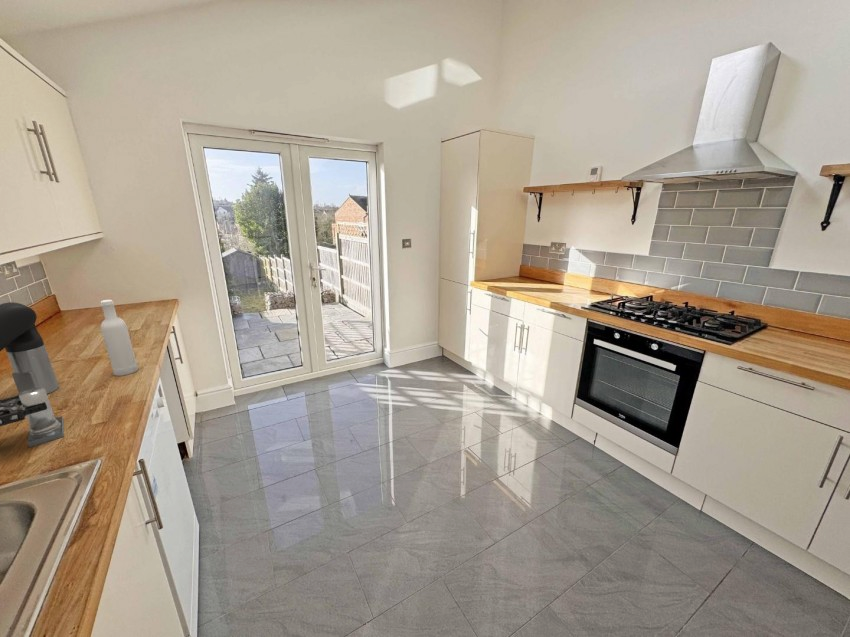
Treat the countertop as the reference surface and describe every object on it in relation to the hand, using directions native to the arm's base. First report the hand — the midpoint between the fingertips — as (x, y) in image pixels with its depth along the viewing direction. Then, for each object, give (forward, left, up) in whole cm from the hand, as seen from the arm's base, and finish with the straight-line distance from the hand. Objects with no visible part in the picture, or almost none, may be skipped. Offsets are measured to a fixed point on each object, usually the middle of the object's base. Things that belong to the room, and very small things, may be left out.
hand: (45, 400), depth 106 cm
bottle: (+41, +7, -10) cm, 43 cm away
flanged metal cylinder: (-1, +2, -8) cm, 9 cm away
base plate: (-1, +1, -10) cm, 10 cm away
